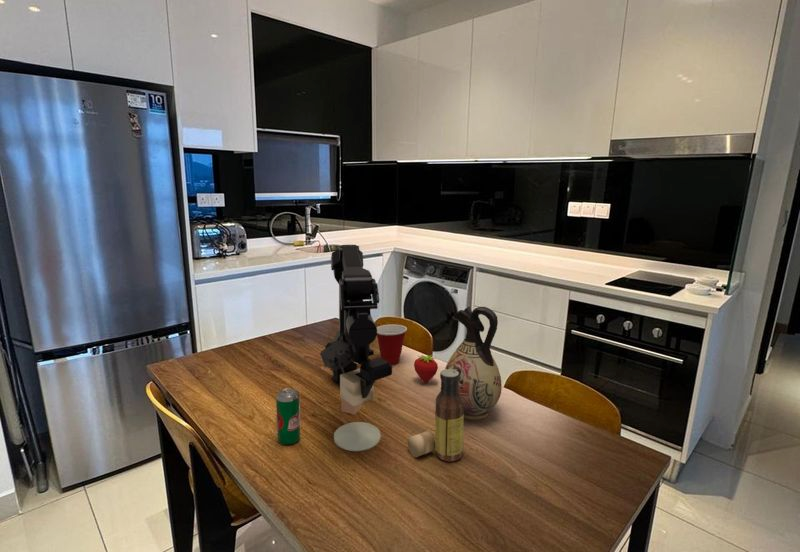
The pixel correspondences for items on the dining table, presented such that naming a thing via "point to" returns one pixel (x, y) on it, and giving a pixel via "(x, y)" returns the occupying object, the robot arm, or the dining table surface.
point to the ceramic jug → (476, 364)
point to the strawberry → (425, 367)
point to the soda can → (288, 416)
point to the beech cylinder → (421, 444)
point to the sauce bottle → (449, 418)
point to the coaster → (357, 436)
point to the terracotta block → (349, 407)
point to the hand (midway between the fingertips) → (357, 392)
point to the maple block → (353, 388)
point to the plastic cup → (391, 342)
